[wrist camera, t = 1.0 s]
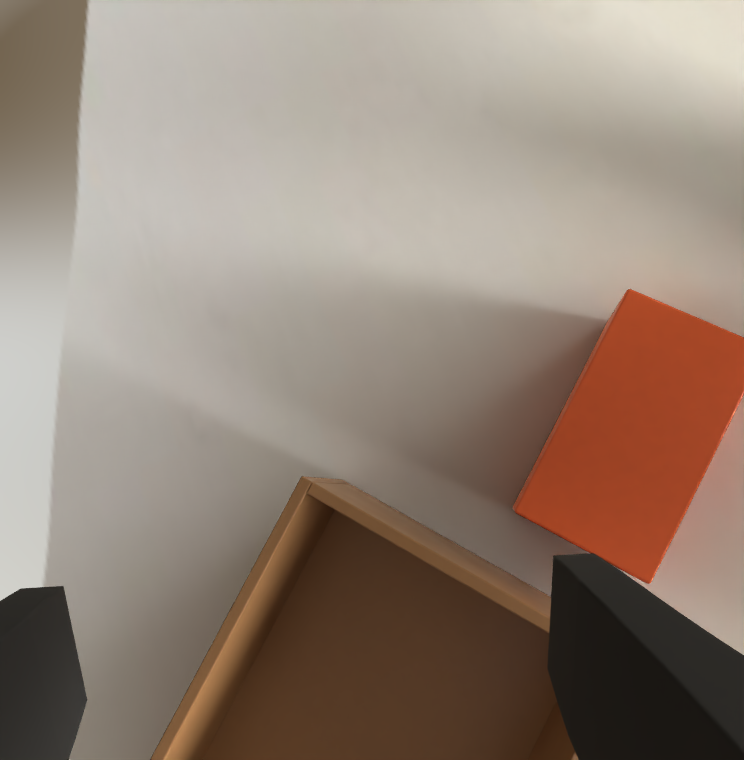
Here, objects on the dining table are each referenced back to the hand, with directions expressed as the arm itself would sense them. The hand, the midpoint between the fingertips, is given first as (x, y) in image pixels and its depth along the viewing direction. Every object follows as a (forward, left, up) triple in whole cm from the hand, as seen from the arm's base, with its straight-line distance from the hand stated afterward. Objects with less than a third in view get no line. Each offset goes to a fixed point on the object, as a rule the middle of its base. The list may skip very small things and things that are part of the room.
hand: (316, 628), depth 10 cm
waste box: (-1, +7, -15) cm, 17 cm away
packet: (-4, -7, -15) cm, 17 cm away
